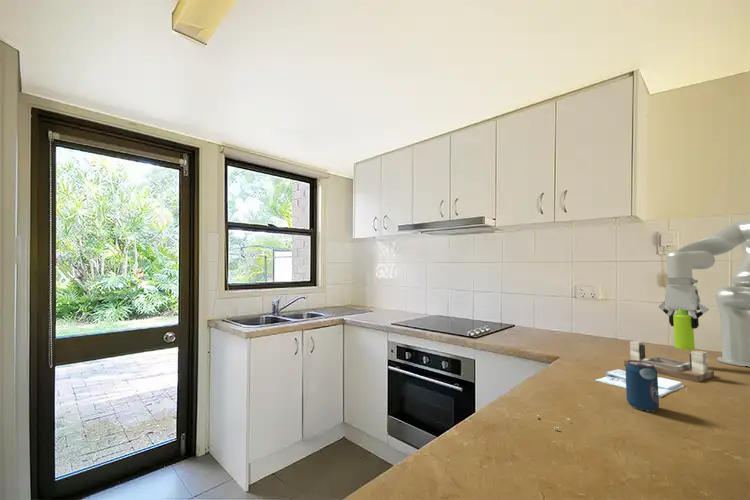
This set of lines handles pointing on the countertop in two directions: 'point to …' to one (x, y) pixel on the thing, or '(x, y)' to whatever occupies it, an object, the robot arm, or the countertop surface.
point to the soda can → (642, 385)
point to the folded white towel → (619, 380)
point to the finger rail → (674, 364)
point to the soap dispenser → (683, 330)
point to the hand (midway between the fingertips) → (683, 326)
